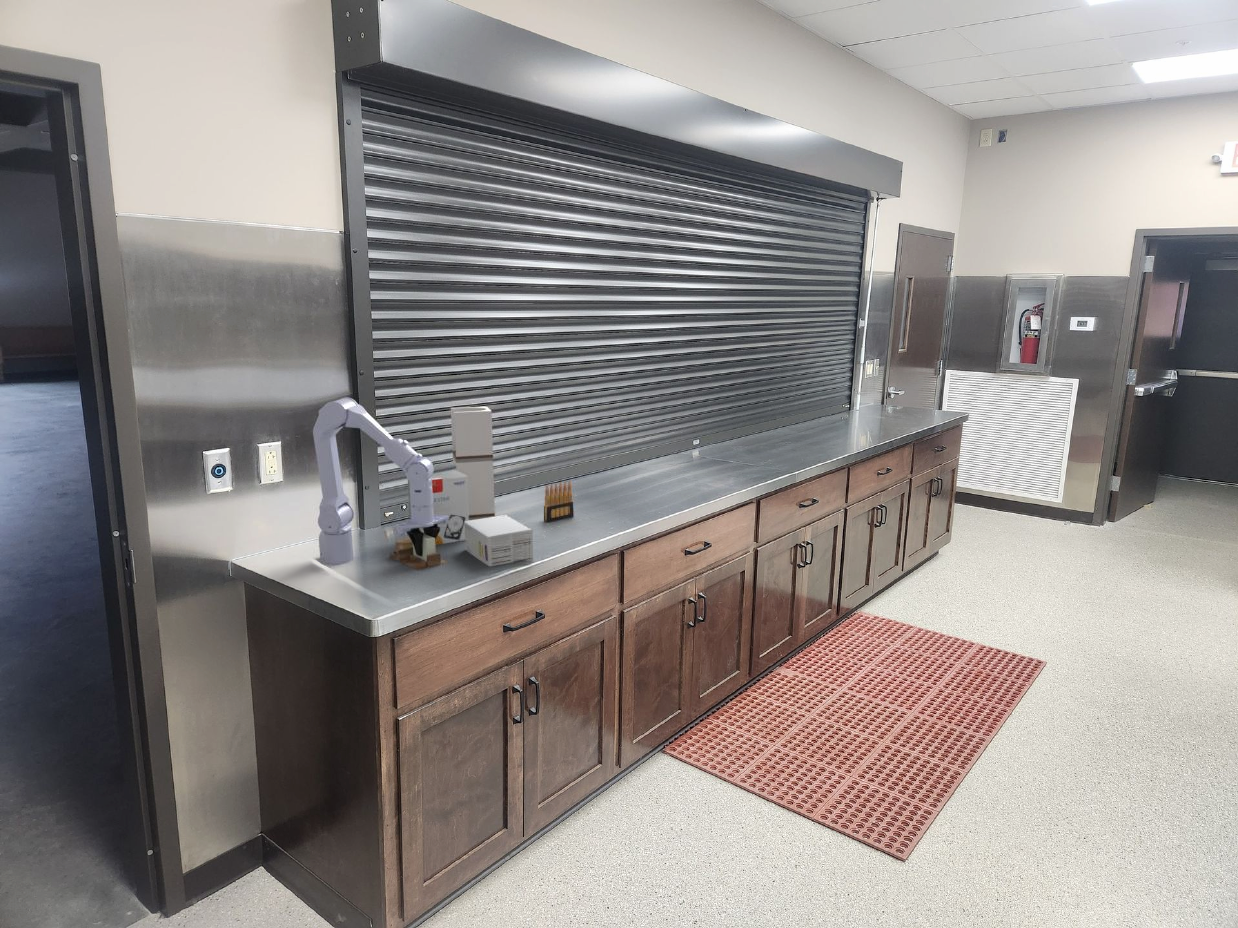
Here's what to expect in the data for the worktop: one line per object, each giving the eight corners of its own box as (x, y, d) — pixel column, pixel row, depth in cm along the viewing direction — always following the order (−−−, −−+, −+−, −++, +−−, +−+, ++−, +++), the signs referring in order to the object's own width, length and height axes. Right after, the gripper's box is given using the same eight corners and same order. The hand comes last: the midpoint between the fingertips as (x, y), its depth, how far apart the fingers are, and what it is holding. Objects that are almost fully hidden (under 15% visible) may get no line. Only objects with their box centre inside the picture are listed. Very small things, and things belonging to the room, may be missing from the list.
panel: (413, 558, 214) (412, 533, 213) (421, 556, 216) (420, 532, 214) (428, 565, 209) (426, 540, 207) (436, 563, 210) (435, 538, 209)
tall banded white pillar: (489, 510, 265) (486, 406, 258) (495, 519, 255) (491, 411, 248) (455, 513, 262) (450, 408, 255) (458, 522, 252) (454, 412, 245)
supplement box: (464, 553, 222) (463, 520, 220) (507, 545, 229) (506, 514, 227) (488, 570, 208) (487, 536, 206) (534, 561, 215) (533, 528, 213)
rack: (389, 559, 216) (389, 546, 215) (419, 552, 222) (418, 539, 221) (418, 573, 205) (417, 559, 205) (448, 565, 211) (447, 551, 211)
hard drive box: (418, 550, 224) (414, 481, 220) (409, 543, 230) (406, 476, 226) (470, 541, 232) (468, 475, 228) (461, 535, 238) (458, 470, 234)
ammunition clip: (547, 522, 252) (546, 485, 249) (543, 521, 253) (542, 484, 251) (573, 516, 259) (573, 480, 256) (570, 515, 260) (570, 479, 257)
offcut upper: (396, 548, 216) (395, 541, 215) (415, 543, 220) (414, 536, 219) (402, 551, 213) (402, 543, 213) (421, 546, 218) (421, 538, 217)
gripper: (404, 512, 201) (407, 563, 204) (454, 502, 211) (456, 551, 214) (390, 507, 206) (393, 557, 209) (440, 497, 216) (442, 545, 219)
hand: (424, 554), depth 212 cm, fingers closed on panel, 2 cm apart
